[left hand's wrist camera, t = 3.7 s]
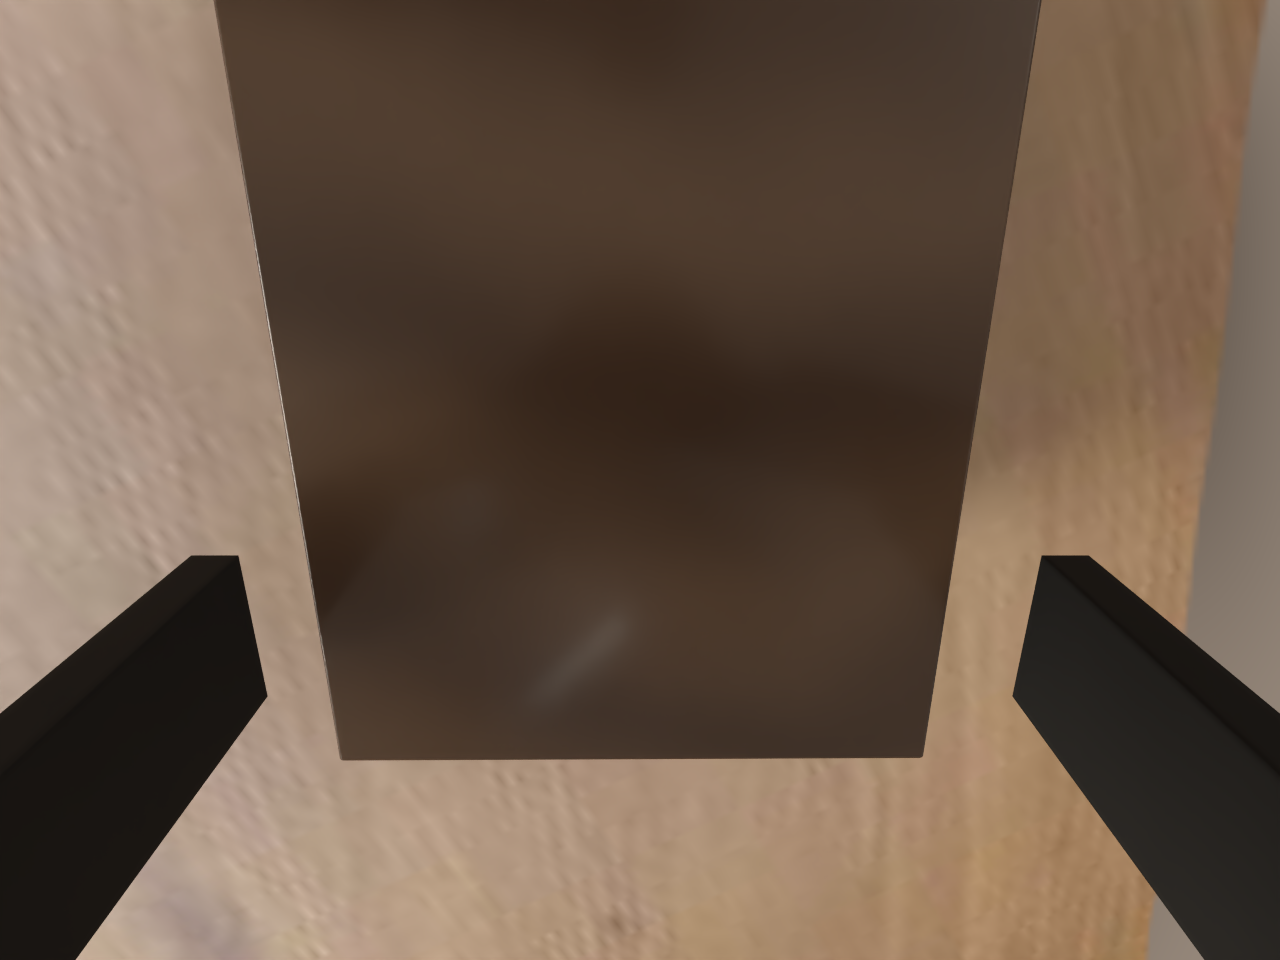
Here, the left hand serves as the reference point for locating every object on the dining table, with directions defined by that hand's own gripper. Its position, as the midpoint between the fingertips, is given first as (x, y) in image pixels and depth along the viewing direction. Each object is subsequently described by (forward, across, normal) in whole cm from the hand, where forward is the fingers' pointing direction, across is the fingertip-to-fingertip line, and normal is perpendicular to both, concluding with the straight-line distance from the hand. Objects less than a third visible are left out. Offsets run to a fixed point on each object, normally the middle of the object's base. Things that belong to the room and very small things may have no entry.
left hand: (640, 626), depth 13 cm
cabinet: (+10, 0, -4) cm, 11 cm away
